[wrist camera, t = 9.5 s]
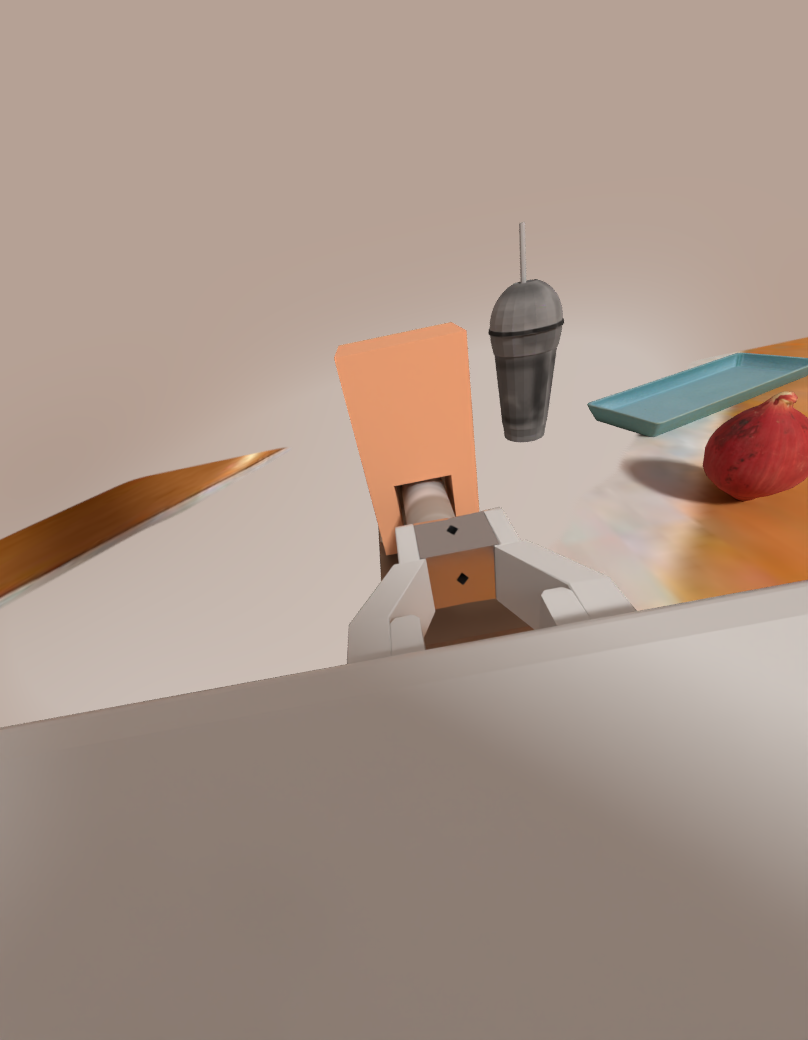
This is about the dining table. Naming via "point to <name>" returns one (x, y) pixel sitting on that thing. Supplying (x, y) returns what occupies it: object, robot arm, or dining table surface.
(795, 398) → the onion
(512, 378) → the beverage cup
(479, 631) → the pipe rig
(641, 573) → the dining table surface
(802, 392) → the dining table surface
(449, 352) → the orange angular piece
